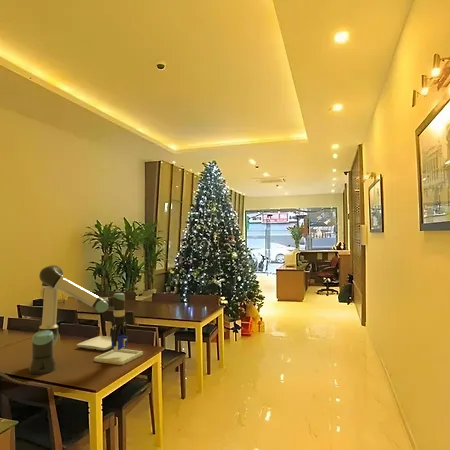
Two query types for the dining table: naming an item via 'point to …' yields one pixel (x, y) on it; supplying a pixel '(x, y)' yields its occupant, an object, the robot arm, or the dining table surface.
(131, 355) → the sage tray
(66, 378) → the dining table surface
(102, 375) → the dining table surface
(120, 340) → the mug
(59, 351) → the dining table surface
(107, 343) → the square plate
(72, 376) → the dining table surface
